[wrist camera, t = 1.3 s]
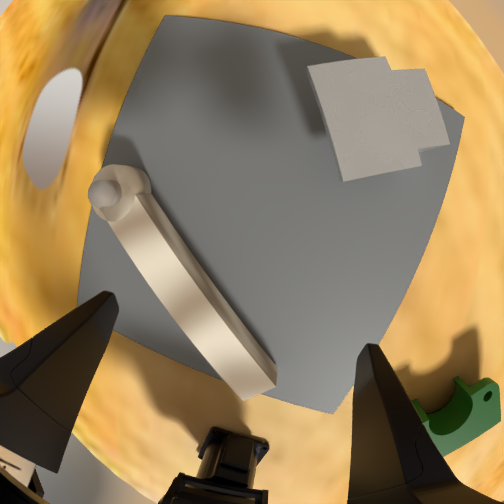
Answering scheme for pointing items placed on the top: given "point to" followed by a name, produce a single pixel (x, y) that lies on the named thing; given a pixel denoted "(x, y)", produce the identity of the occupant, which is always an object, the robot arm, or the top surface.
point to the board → (264, 206)
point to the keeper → (376, 115)
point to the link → (180, 279)
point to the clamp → (463, 415)
